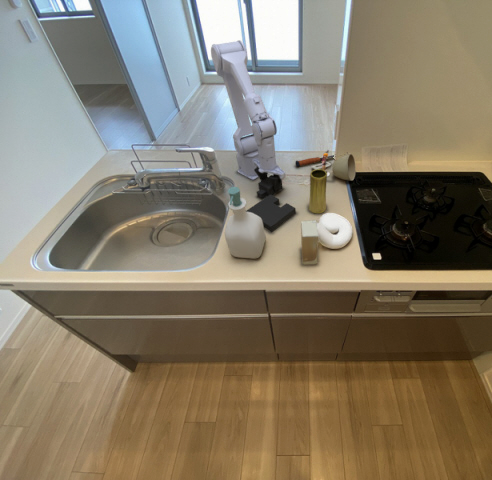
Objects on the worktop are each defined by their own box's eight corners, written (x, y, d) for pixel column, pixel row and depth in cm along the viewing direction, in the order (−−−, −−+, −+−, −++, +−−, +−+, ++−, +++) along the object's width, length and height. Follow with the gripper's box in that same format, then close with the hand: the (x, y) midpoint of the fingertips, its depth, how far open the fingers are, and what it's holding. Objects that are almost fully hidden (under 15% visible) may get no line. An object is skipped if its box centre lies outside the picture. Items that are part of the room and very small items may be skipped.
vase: (328, 204, 100) (330, 170, 90) (323, 215, 96) (325, 180, 86) (311, 201, 102) (312, 166, 91) (306, 211, 98) (306, 176, 88)
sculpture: (354, 221, 94) (357, 203, 88) (348, 255, 84) (351, 236, 78) (319, 216, 96) (320, 197, 90) (309, 247, 86) (309, 229, 80)
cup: (334, 150, 110) (352, 148, 107) (340, 171, 117) (357, 170, 114) (327, 165, 105) (346, 163, 101) (334, 186, 111) (351, 185, 108)
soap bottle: (229, 259, 84) (208, 201, 66) (238, 235, 90) (220, 176, 72) (261, 261, 83) (247, 204, 65) (267, 237, 89) (257, 178, 71)
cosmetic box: (301, 249, 86) (300, 219, 77) (315, 248, 86) (316, 219, 77) (302, 265, 81) (301, 236, 73) (317, 265, 82) (318, 235, 73)
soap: (326, 161, 121) (326, 159, 120) (333, 165, 118) (333, 163, 117) (309, 167, 116) (309, 165, 115) (316, 170, 113) (316, 168, 112)
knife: (353, 156, 122) (347, 154, 126) (352, 150, 121) (347, 148, 125) (298, 168, 115) (294, 166, 119) (297, 161, 114) (293, 159, 118)
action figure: (323, 164, 118) (323, 143, 111) (329, 164, 118) (330, 144, 111) (318, 181, 111) (318, 160, 103) (325, 181, 110) (326, 161, 103)
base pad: (246, 216, 96) (245, 211, 94) (271, 199, 103) (270, 194, 101) (271, 232, 91) (270, 226, 89) (295, 213, 97) (295, 207, 95)
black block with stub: (254, 195, 105) (253, 186, 102) (272, 183, 110) (271, 174, 107) (264, 201, 102) (263, 192, 99) (282, 188, 107) (282, 180, 104)
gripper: (243, 152, 97) (249, 184, 107) (274, 166, 90) (277, 200, 100) (258, 144, 100) (262, 176, 110) (288, 157, 94) (290, 190, 104)
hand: (270, 187), depth 105 cm, fingers closed on black block with stub, 5 cm apart
